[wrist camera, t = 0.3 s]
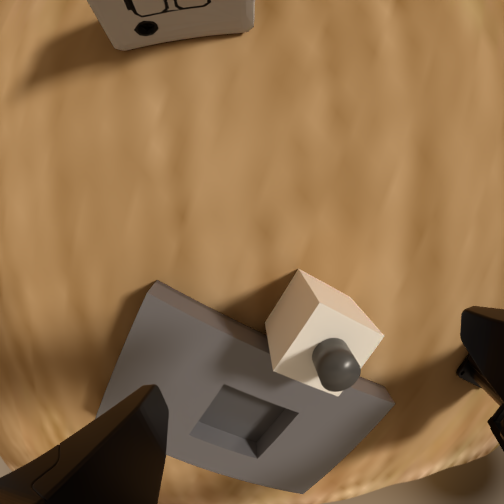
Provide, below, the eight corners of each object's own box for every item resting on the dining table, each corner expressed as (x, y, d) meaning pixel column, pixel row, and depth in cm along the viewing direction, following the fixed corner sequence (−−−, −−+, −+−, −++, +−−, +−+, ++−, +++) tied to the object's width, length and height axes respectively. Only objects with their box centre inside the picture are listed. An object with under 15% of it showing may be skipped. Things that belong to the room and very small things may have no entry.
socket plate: (384, 386, 23) (395, 403, 21) (299, 475, 26) (302, 494, 23) (157, 279, 21) (147, 292, 18) (104, 402, 23) (94, 420, 21)
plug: (350, 297, 22) (399, 353, 14) (316, 347, 22) (347, 418, 15) (298, 268, 21) (330, 319, 13) (264, 322, 22) (276, 393, 14)
